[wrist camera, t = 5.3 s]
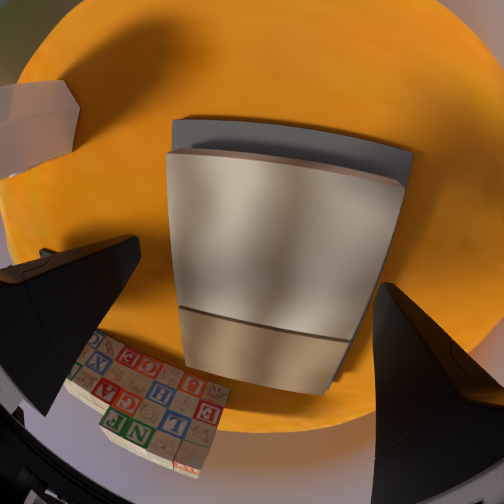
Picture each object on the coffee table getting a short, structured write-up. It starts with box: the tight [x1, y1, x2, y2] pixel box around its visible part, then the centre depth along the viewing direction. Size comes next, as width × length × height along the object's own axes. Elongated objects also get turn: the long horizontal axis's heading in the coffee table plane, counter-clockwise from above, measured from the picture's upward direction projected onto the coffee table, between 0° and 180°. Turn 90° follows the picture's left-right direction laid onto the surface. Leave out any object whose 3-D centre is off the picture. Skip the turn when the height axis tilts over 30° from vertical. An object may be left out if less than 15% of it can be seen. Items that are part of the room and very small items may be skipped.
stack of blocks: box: [64, 330, 230, 478], centre depth 28 cm, size 21×6×12 cm, turn 76°
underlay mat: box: [172, 119, 414, 390], centre depth 21 cm, size 16×24×1 cm, turn 175°
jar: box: [0, 80, 80, 181], centre depth 14 cm, size 9×8×12 cm
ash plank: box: [166, 148, 406, 340], centre depth 18 cm, size 14×12×2 cm
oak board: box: [178, 305, 349, 396], centre depth 23 cm, size 14×8×2 cm, turn 85°
